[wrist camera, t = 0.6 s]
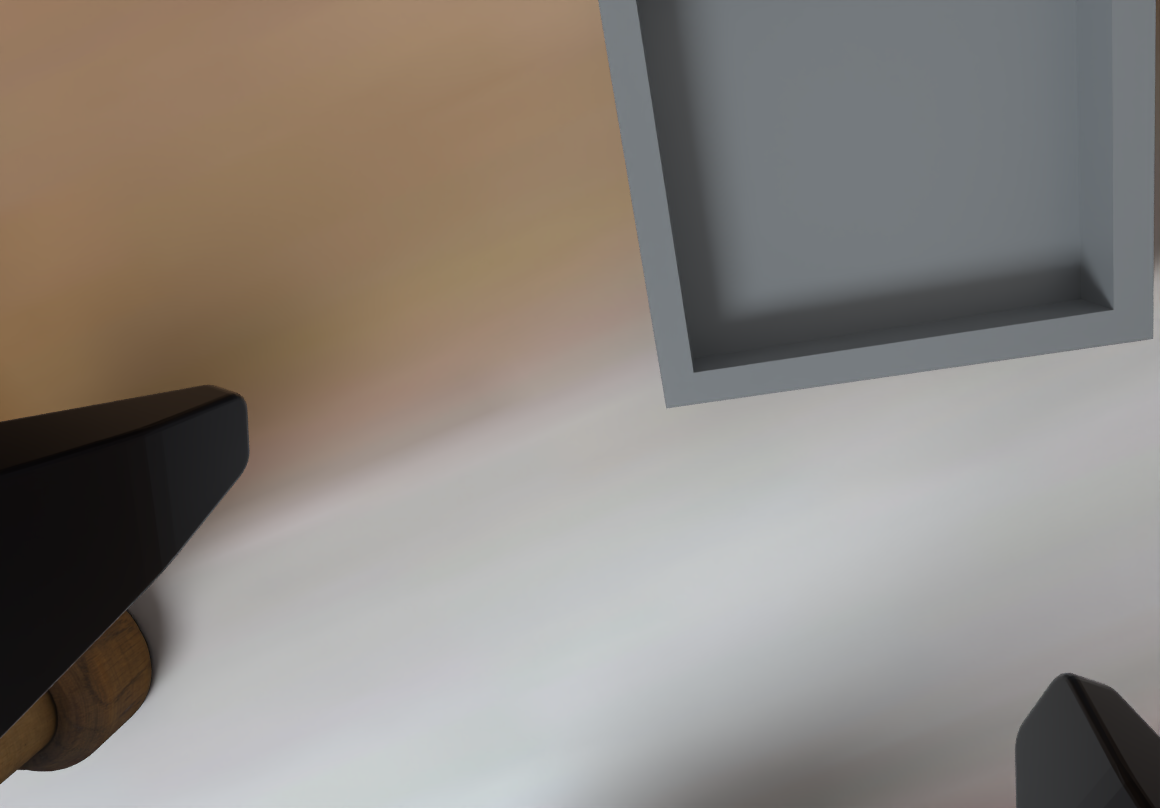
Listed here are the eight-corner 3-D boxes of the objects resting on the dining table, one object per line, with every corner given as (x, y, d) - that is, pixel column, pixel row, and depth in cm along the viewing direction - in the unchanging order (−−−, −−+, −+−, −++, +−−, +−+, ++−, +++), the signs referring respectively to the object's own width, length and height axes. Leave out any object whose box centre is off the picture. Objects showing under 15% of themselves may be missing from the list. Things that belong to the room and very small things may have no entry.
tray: (1097, 318, 20) (1152, 339, 17) (668, 382, 22) (666, 408, 19) (1091, -175, 17) (1157, -231, 14) (597, -50, 19) (584, -81, 16)
